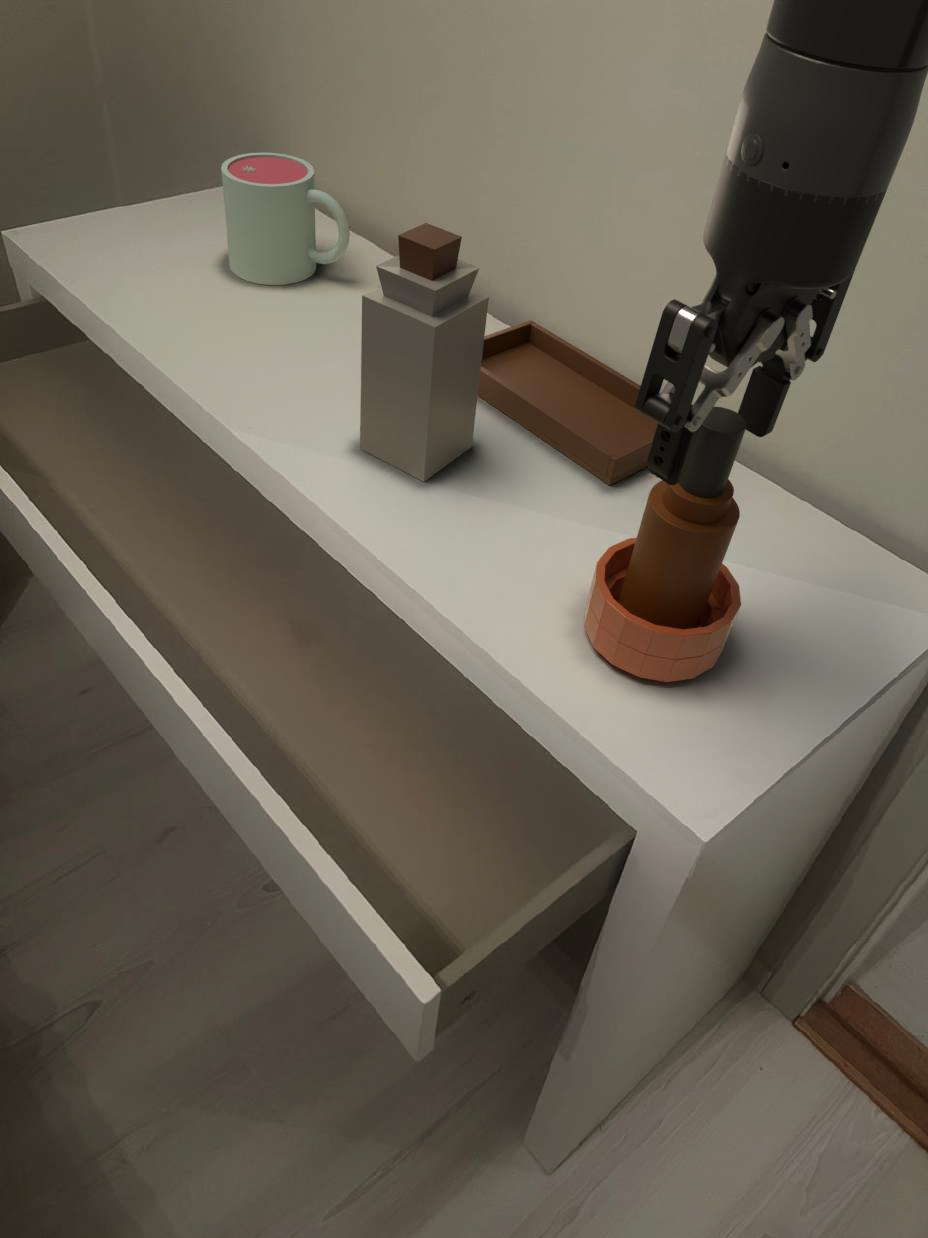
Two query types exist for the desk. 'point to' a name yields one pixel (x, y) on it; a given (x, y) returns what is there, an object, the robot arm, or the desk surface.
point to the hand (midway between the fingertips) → (710, 452)
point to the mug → (275, 218)
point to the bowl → (649, 644)
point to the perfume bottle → (421, 354)
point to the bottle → (686, 531)
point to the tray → (567, 400)
